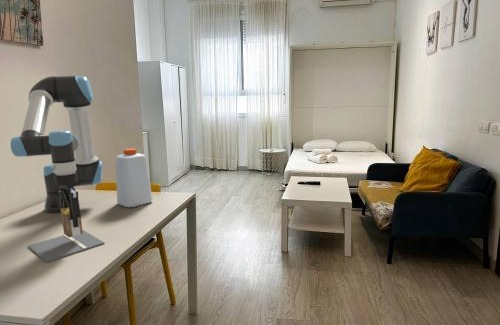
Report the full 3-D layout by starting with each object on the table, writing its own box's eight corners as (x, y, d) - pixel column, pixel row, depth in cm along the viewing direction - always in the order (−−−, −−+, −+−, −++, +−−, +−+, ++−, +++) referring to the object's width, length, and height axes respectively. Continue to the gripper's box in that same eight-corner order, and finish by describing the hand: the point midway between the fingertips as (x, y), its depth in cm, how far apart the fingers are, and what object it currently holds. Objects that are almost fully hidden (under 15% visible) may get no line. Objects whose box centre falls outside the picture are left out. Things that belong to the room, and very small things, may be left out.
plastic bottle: (141, 197, 196) (136, 146, 191) (155, 202, 186) (151, 148, 181) (114, 203, 186) (108, 150, 181) (128, 209, 176) (122, 152, 170)
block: (64, 234, 136) (60, 209, 135) (77, 230, 140) (74, 205, 138) (69, 237, 133) (65, 211, 131) (82, 233, 137) (79, 208, 135)
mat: (28, 246, 135) (28, 244, 135) (82, 231, 149) (82, 229, 149) (46, 262, 121) (45, 260, 121) (104, 243, 135) (104, 241, 135)
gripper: (45, 171, 136) (54, 230, 140) (63, 178, 123) (72, 242, 128) (66, 168, 141) (74, 225, 145) (85, 174, 129) (93, 236, 133)
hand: (73, 233), depth 136 cm, fingers closed on block, 5 cm apart
